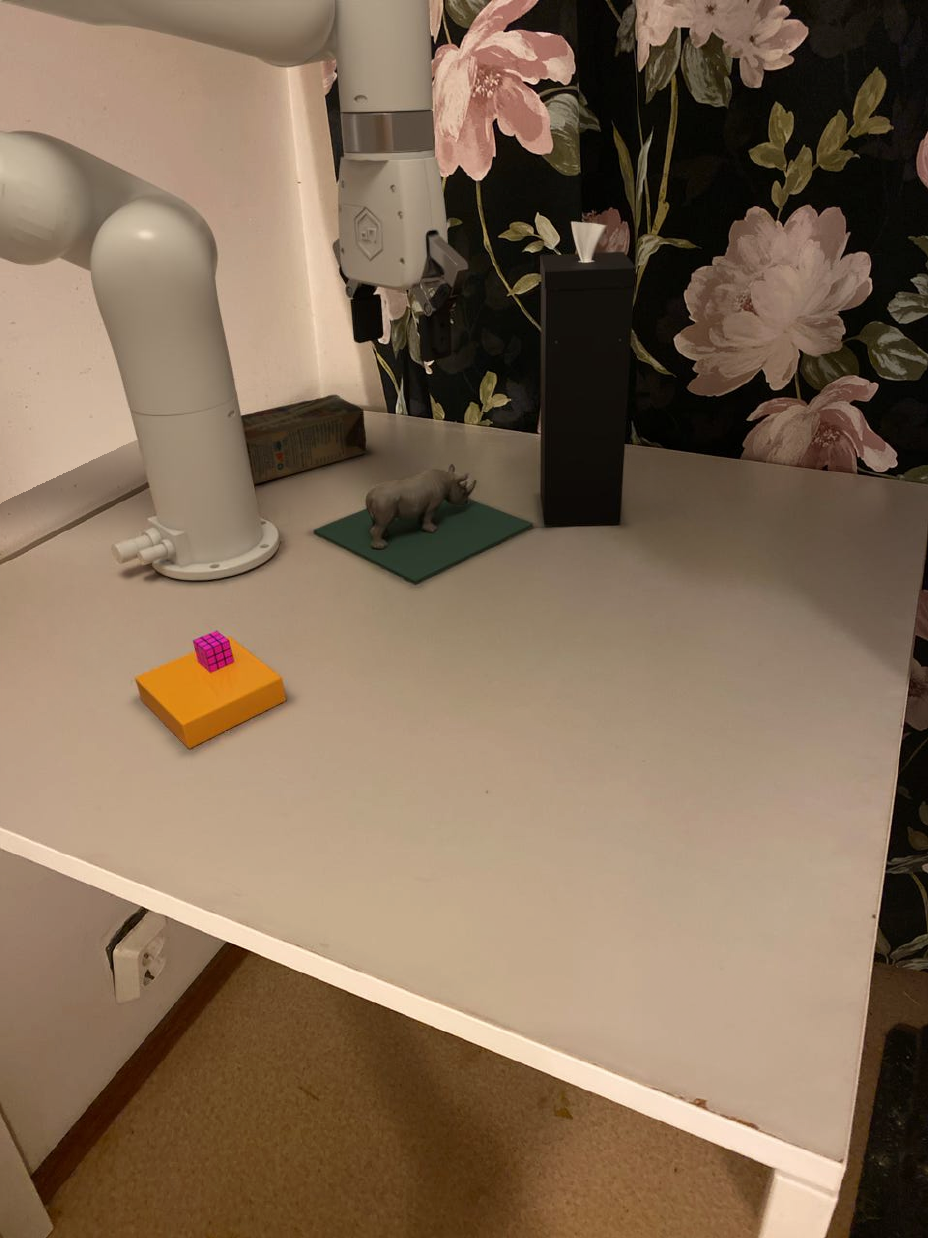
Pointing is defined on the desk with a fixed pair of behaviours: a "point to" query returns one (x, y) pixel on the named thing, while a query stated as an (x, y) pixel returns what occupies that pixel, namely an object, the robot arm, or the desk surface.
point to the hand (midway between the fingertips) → (401, 349)
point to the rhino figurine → (414, 500)
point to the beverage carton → (303, 436)
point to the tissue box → (584, 380)
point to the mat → (426, 538)
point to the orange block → (210, 689)
